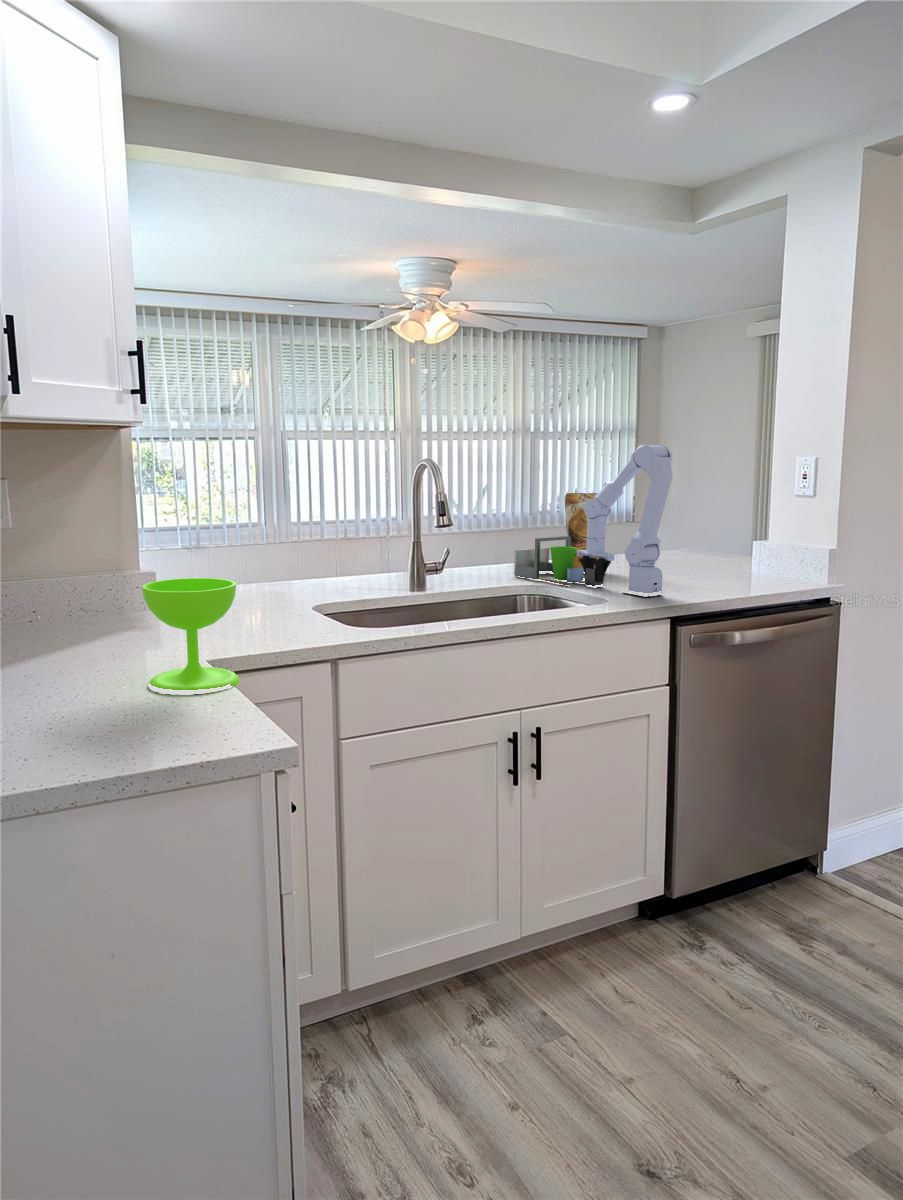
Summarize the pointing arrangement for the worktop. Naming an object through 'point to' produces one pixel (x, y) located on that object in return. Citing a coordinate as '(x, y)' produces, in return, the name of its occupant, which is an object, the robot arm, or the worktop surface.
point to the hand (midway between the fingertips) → (594, 581)
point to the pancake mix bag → (577, 521)
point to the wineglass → (191, 625)
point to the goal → (535, 558)
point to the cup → (562, 560)
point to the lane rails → (554, 581)
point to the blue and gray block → (577, 576)
